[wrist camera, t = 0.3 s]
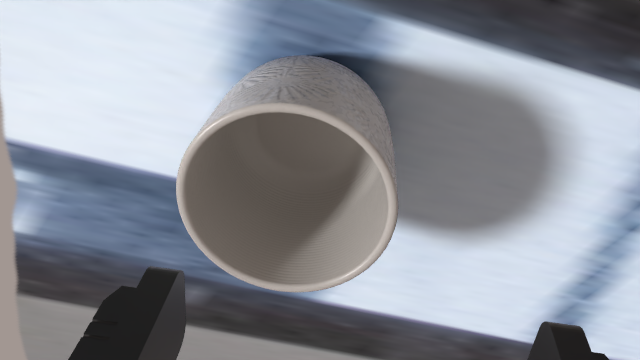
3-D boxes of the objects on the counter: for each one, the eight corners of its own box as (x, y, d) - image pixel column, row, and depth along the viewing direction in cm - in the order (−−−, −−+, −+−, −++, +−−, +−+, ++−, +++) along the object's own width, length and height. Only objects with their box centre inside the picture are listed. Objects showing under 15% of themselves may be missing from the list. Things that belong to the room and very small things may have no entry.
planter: (427, 156, 43) (436, 248, 34) (281, 221, 47) (255, 319, 38) (341, 3, 38) (325, 61, 29) (187, 90, 42) (130, 165, 33)
